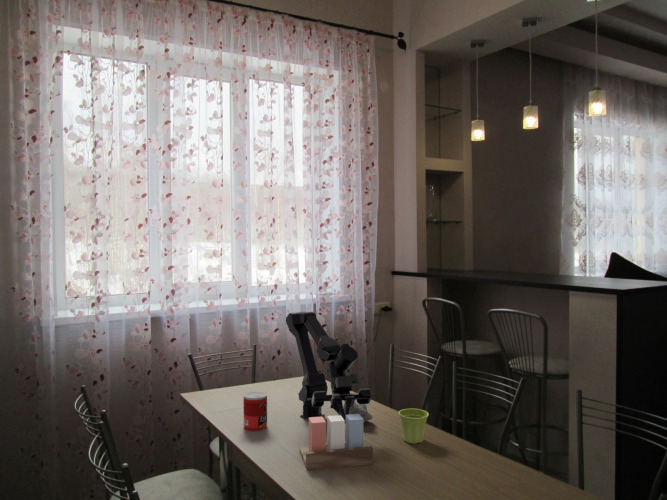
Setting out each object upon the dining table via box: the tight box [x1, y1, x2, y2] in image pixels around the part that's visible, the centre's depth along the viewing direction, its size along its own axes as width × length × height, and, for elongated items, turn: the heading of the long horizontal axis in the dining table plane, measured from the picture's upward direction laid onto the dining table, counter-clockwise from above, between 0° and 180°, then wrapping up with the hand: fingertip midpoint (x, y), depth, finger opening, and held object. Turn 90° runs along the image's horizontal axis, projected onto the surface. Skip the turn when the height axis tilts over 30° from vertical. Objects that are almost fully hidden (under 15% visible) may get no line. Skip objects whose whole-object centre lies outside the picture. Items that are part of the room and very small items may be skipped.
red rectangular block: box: [308, 417, 327, 452], centre depth 153 cm, size 5×4×10 cm
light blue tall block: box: [345, 414, 365, 448], centre depth 155 cm, size 5×4×10 cm
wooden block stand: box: [299, 442, 374, 471], centre depth 155 cm, size 13×19×4 cm
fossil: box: [349, 402, 373, 424], centre depth 185 cm, size 11×9×8 cm
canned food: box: [243, 391, 268, 432], centre depth 182 cm, size 8×8×11 cm
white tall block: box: [326, 415, 346, 450], centre depth 154 cm, size 5×4×10 cm
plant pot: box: [398, 408, 429, 445], centre depth 169 cm, size 9×9×9 cm
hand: (346, 423), depth 164 cm, fingers closed
